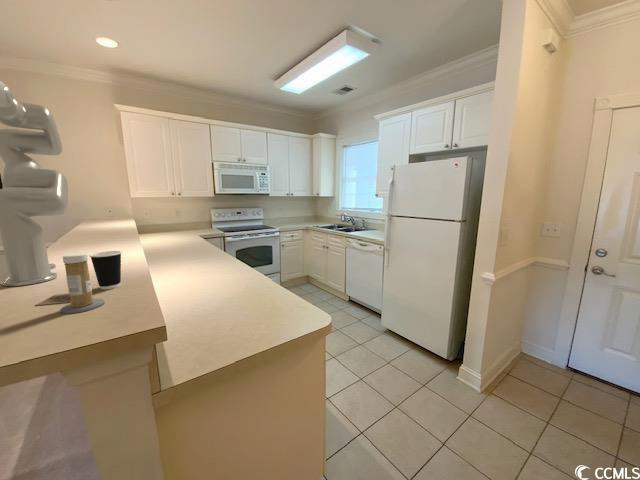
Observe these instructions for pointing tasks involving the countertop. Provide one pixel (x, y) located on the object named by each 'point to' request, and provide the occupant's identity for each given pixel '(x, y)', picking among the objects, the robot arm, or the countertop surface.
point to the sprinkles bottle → (78, 279)
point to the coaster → (70, 310)
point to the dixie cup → (107, 268)
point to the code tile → (56, 300)
